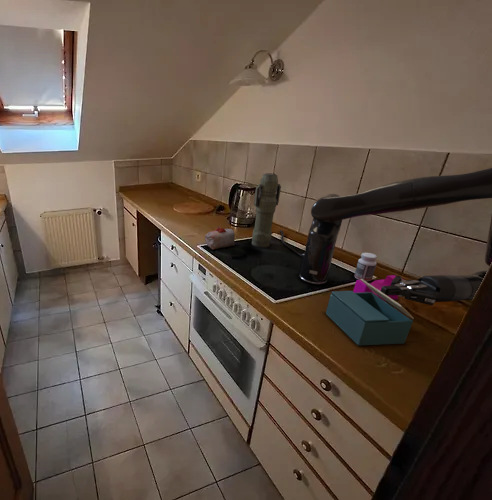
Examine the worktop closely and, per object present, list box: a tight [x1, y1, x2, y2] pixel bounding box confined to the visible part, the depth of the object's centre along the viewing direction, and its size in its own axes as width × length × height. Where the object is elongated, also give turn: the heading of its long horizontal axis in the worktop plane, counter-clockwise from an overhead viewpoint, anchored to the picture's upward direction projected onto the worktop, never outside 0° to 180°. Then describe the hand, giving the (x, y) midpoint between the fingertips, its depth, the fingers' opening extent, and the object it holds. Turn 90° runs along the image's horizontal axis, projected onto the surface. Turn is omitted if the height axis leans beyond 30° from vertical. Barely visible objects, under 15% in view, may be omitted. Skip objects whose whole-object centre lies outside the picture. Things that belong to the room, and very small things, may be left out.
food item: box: [204, 226, 236, 250], centre depth 148 cm, size 14×8×10 cm, turn 109°
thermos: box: [251, 172, 282, 249], centre depth 144 cm, size 9×12×35 cm
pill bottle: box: [353, 252, 378, 282], centre depth 114 cm, size 6×6×10 cm
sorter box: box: [325, 290, 414, 346], centre depth 87 cm, size 15×13×8 cm
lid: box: [360, 279, 415, 320], centre depth 85 cm, size 15×6×1 cm
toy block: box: [352, 274, 404, 302], centre depth 102 cm, size 15×6×8 cm, turn 101°
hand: (383, 290), depth 84 cm, fingers closed
